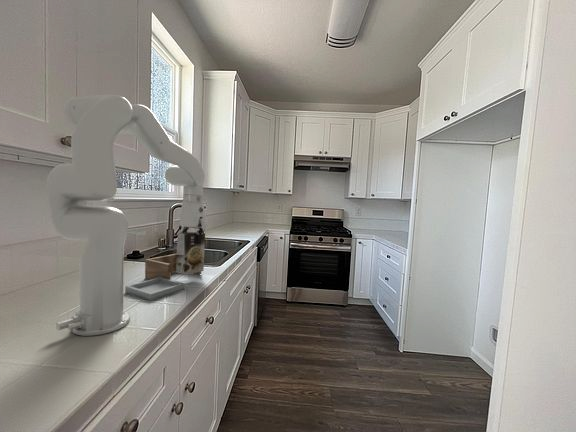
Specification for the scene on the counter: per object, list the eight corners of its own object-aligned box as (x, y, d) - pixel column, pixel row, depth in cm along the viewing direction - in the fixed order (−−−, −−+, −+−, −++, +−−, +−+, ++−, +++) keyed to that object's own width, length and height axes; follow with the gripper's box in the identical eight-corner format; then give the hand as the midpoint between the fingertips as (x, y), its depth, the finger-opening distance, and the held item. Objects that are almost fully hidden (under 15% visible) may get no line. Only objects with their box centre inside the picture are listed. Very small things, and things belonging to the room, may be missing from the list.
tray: (150, 301, 89) (150, 294, 89) (125, 292, 96) (125, 286, 96) (184, 289, 102) (184, 283, 101) (160, 282, 108) (160, 277, 108)
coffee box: (184, 274, 106) (185, 233, 105) (175, 271, 109) (176, 232, 109) (204, 271, 113) (205, 232, 112) (195, 268, 117) (196, 231, 116)
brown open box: (167, 284, 107) (168, 264, 106) (145, 278, 113) (145, 259, 113) (201, 274, 122) (201, 257, 121) (179, 269, 129) (179, 253, 128)
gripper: (215, 200, 109) (213, 244, 110) (185, 199, 118) (183, 240, 118) (201, 200, 103) (199, 246, 103) (170, 198, 111) (169, 242, 112)
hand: (191, 242), depth 111 cm, fingers closed on coffee box, 6 cm apart
